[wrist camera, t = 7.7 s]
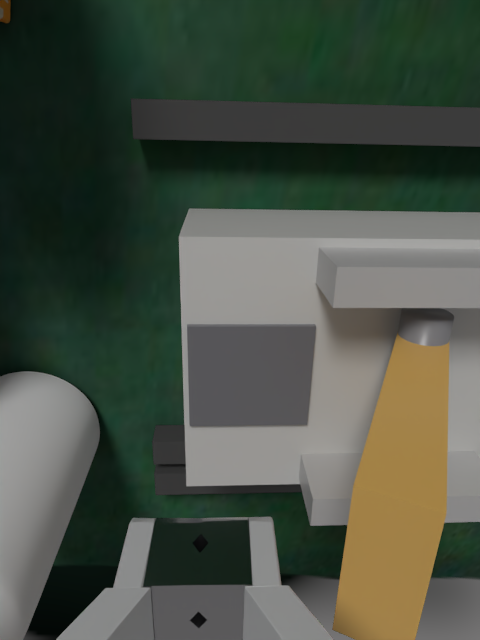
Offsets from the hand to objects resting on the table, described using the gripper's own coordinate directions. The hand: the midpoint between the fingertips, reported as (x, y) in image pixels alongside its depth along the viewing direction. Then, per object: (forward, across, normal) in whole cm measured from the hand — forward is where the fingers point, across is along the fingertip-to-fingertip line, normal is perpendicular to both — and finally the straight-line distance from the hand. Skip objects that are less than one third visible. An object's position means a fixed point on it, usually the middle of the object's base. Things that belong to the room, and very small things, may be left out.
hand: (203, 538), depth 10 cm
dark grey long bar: (+13, -5, -9) cm, 16 cm away
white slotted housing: (+13, -7, 0) cm, 15 cm away
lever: (+6, -7, 0) cm, 9 cm away
